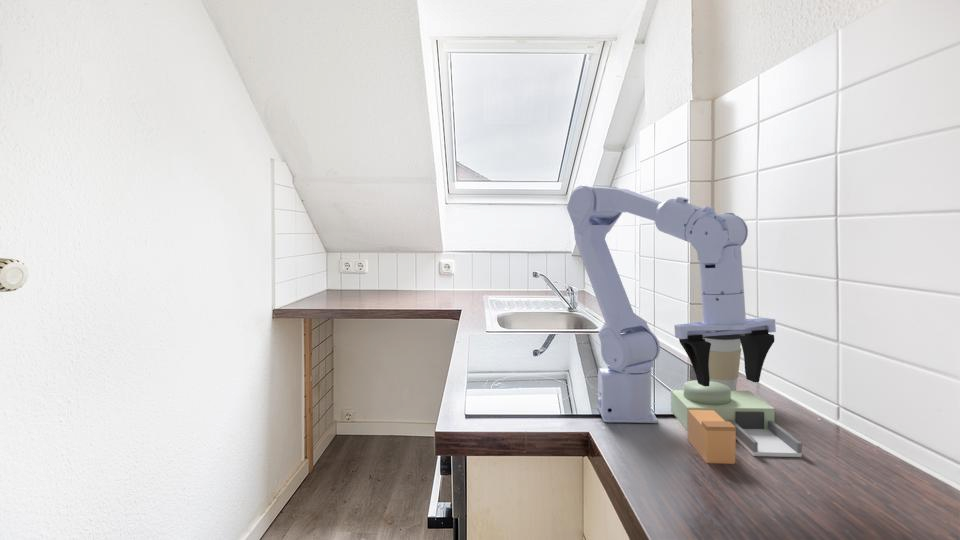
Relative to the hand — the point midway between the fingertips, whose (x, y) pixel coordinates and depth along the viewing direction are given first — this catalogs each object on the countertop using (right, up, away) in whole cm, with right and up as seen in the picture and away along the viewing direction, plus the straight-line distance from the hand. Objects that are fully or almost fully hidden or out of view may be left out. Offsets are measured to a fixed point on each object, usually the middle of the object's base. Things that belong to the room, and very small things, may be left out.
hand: (728, 382), depth 70 cm
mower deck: (+5, -10, +8) cm, 14 cm away
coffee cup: (+12, -9, +26) cm, 30 cm away
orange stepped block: (-2, -11, +2) cm, 11 cm away
